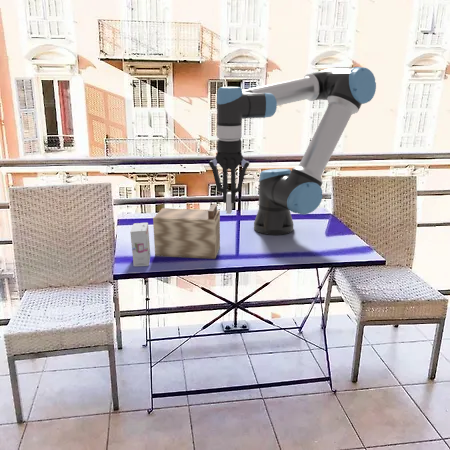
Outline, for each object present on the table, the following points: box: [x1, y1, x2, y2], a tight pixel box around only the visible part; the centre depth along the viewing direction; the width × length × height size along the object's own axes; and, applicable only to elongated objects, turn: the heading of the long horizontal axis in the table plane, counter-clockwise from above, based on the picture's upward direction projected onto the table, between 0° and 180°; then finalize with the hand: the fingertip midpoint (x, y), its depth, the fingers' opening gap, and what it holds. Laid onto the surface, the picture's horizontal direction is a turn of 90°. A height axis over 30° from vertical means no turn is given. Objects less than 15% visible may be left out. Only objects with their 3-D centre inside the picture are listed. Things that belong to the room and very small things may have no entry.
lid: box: [154, 203, 219, 220], centre depth 151 cm, size 20×10×4 cm, turn 83°
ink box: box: [130, 222, 152, 267], centre depth 146 cm, size 9×5×12 cm, turn 5°
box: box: [152, 207, 221, 260], centre depth 153 cm, size 20×11×13 cm, turn 83°
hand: (229, 212), depth 149 cm, fingers closed
